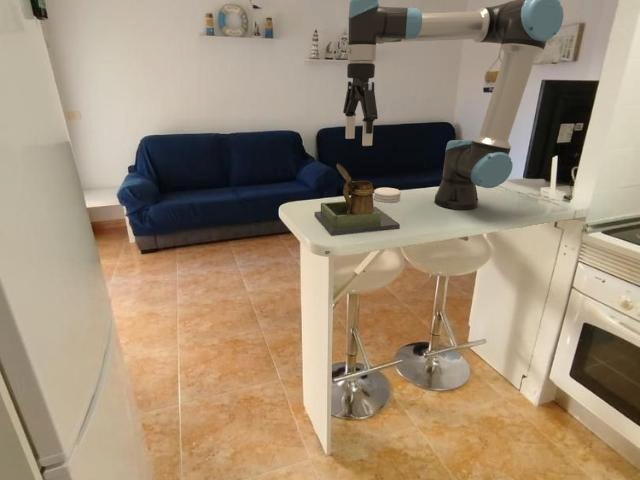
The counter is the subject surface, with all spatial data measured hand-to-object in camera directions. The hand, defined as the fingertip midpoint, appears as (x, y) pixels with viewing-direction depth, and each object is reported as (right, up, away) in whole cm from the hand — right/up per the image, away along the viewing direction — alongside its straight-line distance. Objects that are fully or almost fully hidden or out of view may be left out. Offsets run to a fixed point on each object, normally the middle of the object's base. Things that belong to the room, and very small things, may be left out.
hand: (358, 141), depth 116 cm
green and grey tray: (0, -23, +10) cm, 25 cm away
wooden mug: (0, -22, +9) cm, 24 cm away
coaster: (+14, -14, +34) cm, 39 cm away
